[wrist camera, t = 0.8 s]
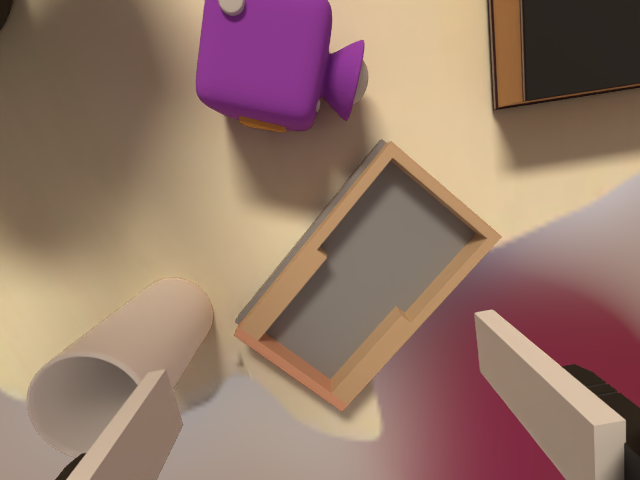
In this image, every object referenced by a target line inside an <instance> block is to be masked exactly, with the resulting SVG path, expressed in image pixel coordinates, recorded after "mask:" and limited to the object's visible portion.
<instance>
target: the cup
mask: <svg viewBox="0 0 640 480" xmlns="http://www.w3.org/2000/svg"><path fill="white" fill-rule="evenodd" d="M212 322H213V310H212V306H211V303H210V300H209V299H208V297H207V295H206V294H205V293H204V292H203V291H202V290H201V289H200V288H199V287H198V286H196V285H195V284H193V283H191V282H189V281H187V280H184V279H179V278H166V279H162V280H159V281H156V282H154V283H153V284H151V285H150V286H148V287H147V288H146V289H144V290H143V291H142V292H140V293H139V294H138V295H136V296H135V297H134V298H132V299H131V300H130V301H128V302H127V303H126V304H124V305H123V306H122V307H120V308H119V309H118V310H116V311H115V312H114V313H113V314H111V315H110V316H109V317H107V318H106V319H105V320H103V321H102V322H101V323H99V324H98V325H97V326H95V327H94V328H93V329H91V330H90V331H89V332H87V333H86V334H85V335H83V336H82V337H81V338H79V339H78V340H77V341H75V342H74V343H73V344H71V345H70V346H69V347H67V348H66V349H65V350H63V351H62V352H61V353H59V354H58V355H57V356H55V357H54V358H53V359H52V360H50V361H49V362H48V363H46V364H45V365H44V366H43V367H42V368H41V369H40V370H39V371H38V372H37V373H36V375H35V376H34V378H33V379H32V381H31V383H30V386H29V388H28V393H27V410H28V414H29V417H30V420H31V422H32V424H33V426H34V428H35V429H36V431H37V432H38V434H39V435H40V436H41V437H42V438H43V439H44V440H45V441H46V442H47V443H48V444H49V445H51V446H52V447H53V448H55V449H57V450H58V451H60V452H62V453H64V454H66V455H69V456H71V457H75V458H77V457H78V456H79V455H80V454H82V453H87V452H88V451H89V449H90V448H91V447H92V445H93V444H94V443H95V441H96V440H97V439H98V437H99V436H100V435H101V434H102V432H103V431H104V430H105V428H106V427H107V426H108V424H109V423H110V422H111V420H112V419H113V418H114V416H115V415H116V414H117V413H118V411H119V410H120V409H121V407H122V406H123V405H124V403H125V402H126V401H127V399H128V398H129V397H130V396H131V394H132V393H133V392H134V390H135V389H136V388H137V386H138V385H139V384H140V382H141V381H142V380H143V379H144V377H145V376H146V375H147V373H148V372H153V371H158V370H164V369H166V371H167V374H168V377H169V381H170V384H171V387H172V390H173V389H174V387H175V385H176V384H177V382H178V381H179V379H180V377H181V376H182V374H183V372H184V371H185V369H186V368H187V366H188V364H189V363H190V361H191V360H192V358H193V356H194V355H195V353H196V351H197V350H198V348H199V347H200V345H201V343H202V342H203V340H204V339H205V337H206V335H207V334H208V332H209V330H210V328H211V325H212Z"/></svg>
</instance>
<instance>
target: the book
mask: <svg viewBox="0 0 640 480" xmlns="http://www.w3.org/2000/svg"><path fill="white" fill-rule="evenodd" d="M488 11H489V31H490V51H491V71H492V92H493V110H498V109H504V108H511V107H517V106H524V105H530V104H537V103H543V102H550V101H556V100H563V99H569V98H575V97H582V96H588V95H595V94H601V93H608V92H614V91H621V90H627V89H634V88H640V0H488Z"/></svg>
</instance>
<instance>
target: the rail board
mask: <svg viewBox="0 0 640 480" xmlns="http://www.w3.org/2000/svg"><path fill="white" fill-rule="evenodd" d="M501 237H502V236H501V235H499V234H498V233H497V232H496V231H495V230H494V229H492V228H491V227H490V226H489V225H488V224H487V223H486V222H484V221H483V220H482V219H481V218H480V217H479V216H477V215H476V214H475V213H474V212H473V211H472V210H470V209H469V208H468V207H467V206H466V205H465V204H463V203H462V202H461V201H460V200H459V199H458V198H457V197H455V196H454V195H453V194H452V193H451V192H450V191H448V190H447V189H446V188H445V187H444V186H443V185H441V184H440V183H439V182H438V181H437V180H436V179H434V178H433V177H432V176H431V175H430V174H429V173H428V172H426V171H425V170H424V169H423V168H422V167H421V166H419V165H418V164H417V163H416V162H415V161H414V160H412V159H411V158H410V157H409V156H408V155H407V154H405V153H404V152H403V151H402V150H401V149H400V148H399V147H397V146H396V145H395V144H394V143H393V142H388V143H386V142H385V141H383V140H380V141H379V142H378V143H377V144H376V146H375V147H374V148H373V149H372V151H371V152H370V153H369V154H368V155H367V157H366V158H365V159H364V160H363V162H362V163H361V164H360V165H359V167H358V168H357V169H356V170H355V172H354V173H353V174H352V175H351V177H350V178H349V179H348V180H347V181H346V183H345V184H344V185H343V186H342V188H341V189H340V190H339V191H338V193H337V194H336V195H335V196H334V198H333V199H332V200H331V201H330V203H329V204H328V205H327V206H326V207H325V209H324V210H323V211H322V212H321V214H320V215H319V216H318V217H317V219H316V220H315V221H314V222H313V224H312V225H311V226H310V227H309V229H308V230H307V231H306V232H305V233H304V235H303V236H302V237H301V238H300V240H299V241H298V242H297V243H296V245H295V246H294V247H293V248H292V250H291V251H290V252H289V253H288V255H287V256H286V257H285V258H284V259H283V261H282V262H281V263H280V264H279V266H278V267H277V268H276V269H275V271H274V272H273V273H272V274H271V276H270V277H269V278H268V279H267V281H266V282H265V283H264V284H263V285H262V287H261V288H260V289H259V290H258V292H257V293H256V294H255V295H254V297H253V298H252V299H251V300H250V302H249V303H248V304H247V305H246V307H245V308H244V309H243V310H242V311H241V313H240V314H239V315H238V317H237V319H236V321H235V322H236V323H237V324H239V325H238V327H237V330H236V332H235V334H234V336H235V337H237V338H238V339H240V340H241V341H243V342H244V343H245V344H247V345H248V346H250V347H251V348H252V349H254V350H255V351H257V352H258V353H260V354H261V355H262V356H264V357H265V358H267V359H268V360H269V361H271V362H272V363H274V364H275V365H277V366H278V367H279V368H281V369H282V370H284V371H285V372H286V373H288V374H289V375H291V376H292V377H294V378H295V379H296V380H298V381H299V382H301V383H302V384H303V385H305V386H306V387H308V388H309V389H311V390H312V391H313V392H315V393H316V394H318V395H319V396H320V397H322V398H323V399H325V400H326V401H328V402H329V403H330V404H332V405H333V406H335V407H336V408H337V409H339V410H340V411H343V410H344V409H345V408H346V407H347V406H348V405H349V404H350V403H351V401H352V400H353V399H354V398H355V397H356V396H357V395H358V394H359V393H360V392H361V390H362V389H363V388H364V387H365V386H366V385H367V384H368V383H369V382H370V381H371V380H372V378H373V377H374V376H375V375H376V374H377V373H378V372H379V371H380V370H381V369H382V367H383V366H384V365H385V364H386V363H387V362H388V361H389V360H390V359H391V358H392V357H393V355H394V354H395V353H396V352H397V351H398V350H399V349H400V348H401V347H402V346H403V344H404V343H405V342H406V341H407V340H408V339H409V338H410V337H411V336H412V335H413V334H414V332H415V331H416V330H417V329H418V328H419V327H420V326H421V325H422V324H423V323H424V321H425V320H426V319H427V318H428V317H429V316H430V315H431V314H432V313H433V312H434V310H436V308H437V307H438V306H439V305H440V304H441V303H442V302H443V301H444V299H446V297H447V296H448V295H449V294H450V293H451V292H452V291H453V290H454V289H455V288H456V286H457V285H458V284H459V283H460V282H461V281H462V280H463V279H464V278H465V277H466V276H467V274H468V273H469V272H470V271H471V270H472V269H473V268H474V267H475V266H476V265H477V264H478V262H479V261H480V260H481V259H482V258H483V257H484V256H485V255H486V254H487V253H488V252H489V250H490V249H491V248H492V247H493V246H494V245H495V244H496V243H497V242H498V241H499V239H500V238H501Z"/></svg>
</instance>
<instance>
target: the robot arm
mask: <svg viewBox="0 0 640 480" xmlns="http://www.w3.org/2000/svg"><path fill="white" fill-rule="evenodd" d="M11 4H12V0H0V29H1V27H2V26H3V24H4V22H5V20H6V18H7V16H8V14H9V11H10V8H11ZM474 315H475V325H476V334H477V344H478V354H479V364H480V372H481V373H482V374H483V376H484V377H485V378H486V379H487V381H488V382H489V383H490V384H491V386H492V387H493V388H494V389H495V390H496V392H497V393H498V394H499V396H500V397H501V398H502V399H503V401H504V402H505V403H506V404H507V406H508V407H509V408H510V409H511V411H512V412H513V413H514V414H515V416H516V417H517V418H518V420H519V421H520V422H521V423H522V425H523V426H524V427H525V428H526V430H527V431H528V432H529V433H530V435H531V436H532V437H533V438H534V440H535V441H536V442H537V443H538V445H539V446H540V447H541V449H542V450H543V451H544V452H545V454H546V455H547V456H548V457H549V458H550V460H551V461H552V462H553V463H554V465H555V466H556V467H557V469H558V470H559V471H560V472H561V474H562V475H563V476H564V477H565V479H566V480H640V408H639V407H638V406H636V405H635V404H633V403H632V402H631V401H630V400H629V399H627V398H626V397H625V396H623V395H622V394H621V393H617V390H615V389H614V388H613V387H611V386H610V385H609V384H606V382H605V381H603V380H602V379H601V378H600V377H598V376H597V375H596V374H594V373H593V372H591V371H589V370H587V369H584V368H582V367H580V366H577V365H575V364H574V365H567V366H562V367H561V366H560V365H559V364H558V363H556V362H555V361H554V360H553V359H551V358H550V357H549V356H548V355H546V354H545V353H544V352H543V351H542V350H541V349H539V348H538V347H537V346H536V345H534V344H533V343H532V342H531V341H529V340H528V339H527V338H526V337H525V336H523V334H521V333H520V332H519V331H517V330H516V329H515V328H514V327H513V326H512V325H510V324H509V323H508V322H507V321H506V320H504V319H503V318H502V317H501V316H500V315H498V314H497V313H496V312H495V311H494V310H487V311H482V312H477V313H475V314H474ZM182 426H183V423H182V419H181V416H180V413H179V410H178V407H177V403H176V400H175V397H174V394H173V390H172V387H171V384H170V381H169V377H168V374H167V371H166V369H164V370H158V371H153V372H148V373H147V375H146V376H145V377H144V379H143V380H142V381H141V382H140V384H139V385H138V386H137V388H136V389H135V390H134V392H133V393H132V394H131V396H130V397H129V398H128V399H127V401H126V402H125V403H124V405H123V406H122V407H121V409H120V410H119V411H118V413H117V414H116V415H115V416H114V418H113V419H112V420H111V422H110V423H109V424H108V426H107V427H106V428H105V430H104V431H103V432H102V434H101V435H100V436H99V437H98V439H97V440H96V441H95V443H94V444H93V445H92V447H91V448H90V449H89V451H88V452H87V453H82V454H80V455H79V456H78V457H77V458H75V459H74V460H73V461H72V462H71V463H70V464H68V465H67V466H66V467H65V468H64V469H63V471H62V472H61V473H60V475H59V476H58V477H57V478H56V479H55V480H157V478H158V476H159V474H160V472H161V470H162V468H163V465H164V463H165V461H166V459H167V457H168V455H169V453H170V451H171V449H172V447H173V445H174V443H175V441H176V439H177V436H178V434H179V432H180V430H181V428H182Z"/></svg>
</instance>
